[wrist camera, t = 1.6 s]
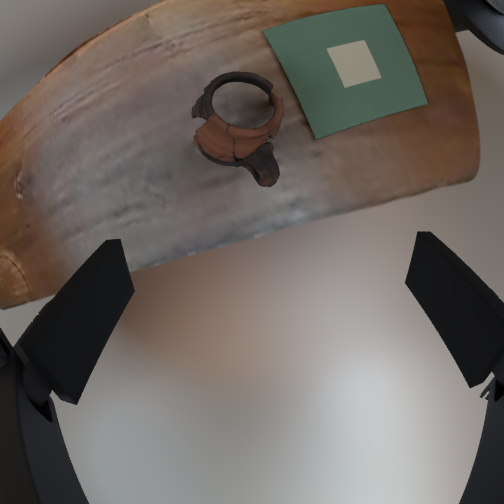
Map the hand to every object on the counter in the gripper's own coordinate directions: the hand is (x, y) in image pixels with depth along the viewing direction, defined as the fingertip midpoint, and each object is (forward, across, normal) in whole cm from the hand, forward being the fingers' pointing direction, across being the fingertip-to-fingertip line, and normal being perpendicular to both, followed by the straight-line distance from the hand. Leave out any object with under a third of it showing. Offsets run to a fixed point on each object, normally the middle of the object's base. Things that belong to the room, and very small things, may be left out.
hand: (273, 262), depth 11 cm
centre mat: (+21, +11, +13) cm, 27 cm away
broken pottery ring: (+21, -2, +4) cm, 22 cm away
